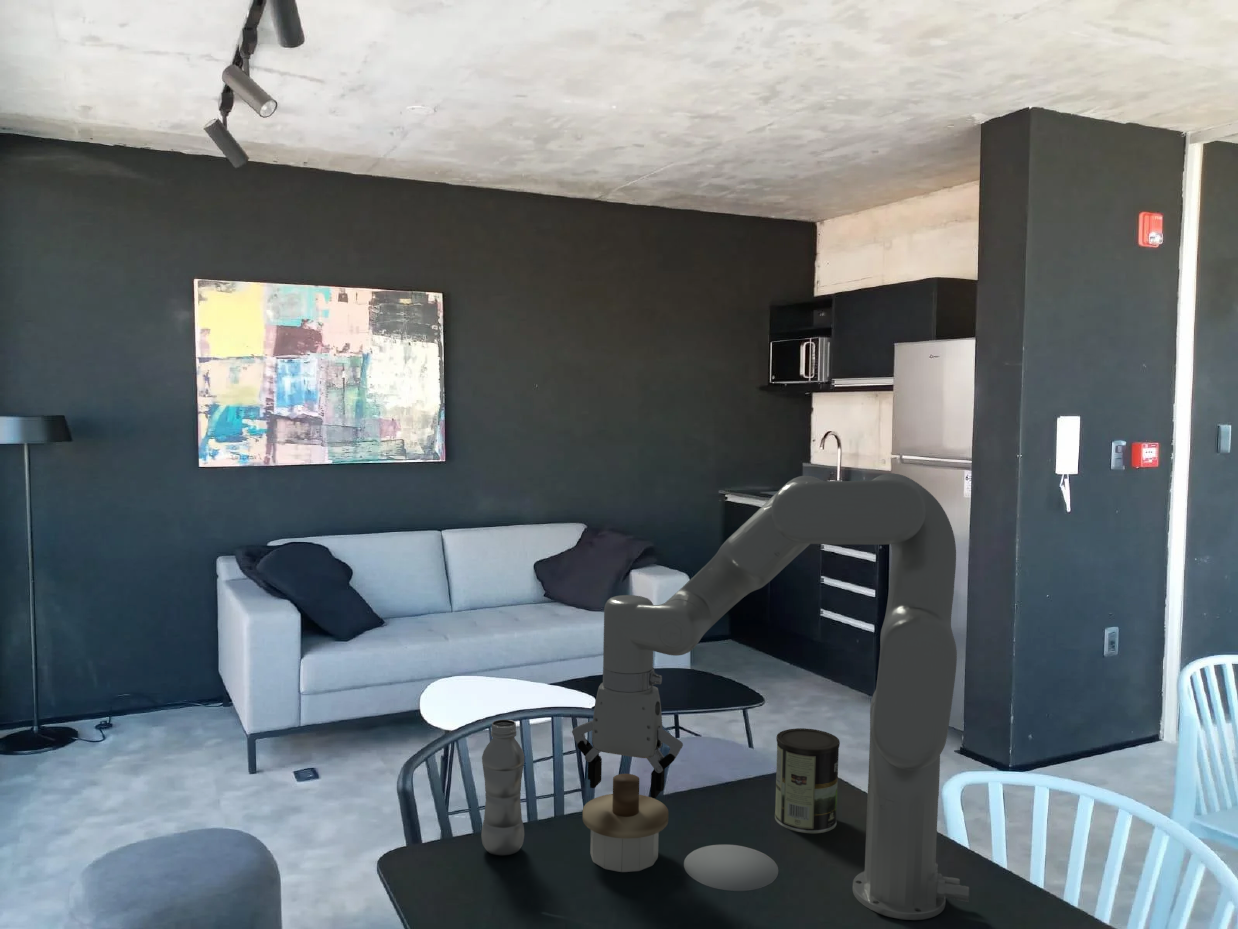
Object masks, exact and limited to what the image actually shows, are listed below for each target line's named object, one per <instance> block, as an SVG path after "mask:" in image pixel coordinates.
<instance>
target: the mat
mask: <svg viewBox="0 0 1238 929" xmlns="http://www.w3.org/2000/svg"><path fill="white" fill-rule="evenodd" d="M683 868H684V870H685V872H686V873H687V874H688V875H689V877H691V878H692V879H693V880H695V881H696V882H698V883H700V884H702V885H703V886H707V887H710V888H713V889H718V890H721V891H723V890H724V891H730V892H731V891H732V892H733V891H734V892H746V891H753V890H759V889H761V888H764V887H767V886H768V885H771V884H772V883H773V882H774V881H775V880H776V879H777V877H778V876H779V867H778V864H777V863H776V862H775V860H774V859H772V858H771V857H770V856H768V855H767V854H766V853H763V852H761V851H759V850H758V849H754V848H750V847H746V846H743V845H737V844H712V845H706V846H702V847H699V848H697V849H694V850H693V851H691V852H690V853H688V854H687V855H686V857H685V858H684V861H683Z"/></svg>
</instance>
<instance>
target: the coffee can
mask: <svg viewBox="0 0 1238 929" xmlns="http://www.w3.org/2000/svg"><path fill="white" fill-rule="evenodd" d="M840 744H841V741H840V739H839V738H838V737H837V736H836V735H834V734H832V733H831V732H827V731H824V730H819V729H814V728H804V727H802V728H799V727H798V728H789V729H784V730H782V731H779V732H778V733H777V734H776V776H775V809H774V810H775V812H774V819H775V821H776V822H777V823H778V824H779V825H780V826H781V827H783V828H786V829H788V830H790V831H792V832H798V833H802V834H803V833H804V834H821V833H826V832H830V831H831V830H833V829H835V828H836V826H837V824H838V823H837V808H838V807H837V805H838V778H839V755H840V754H839V752H840V751H839V750H840Z"/></svg>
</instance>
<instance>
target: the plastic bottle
mask: <svg viewBox="0 0 1238 929" xmlns="http://www.w3.org/2000/svg"><path fill="white" fill-rule="evenodd" d="M490 736H491V737H492V739H491V740H489V742H488V744H487V745H486V747H485V748H484V750H483V752H482V756H481V764H482V771H483V778H484V791H485V792H484V793H485V795H484V796H485V805H484V813H483V814H484V815H483V822H482V827H481V833H480V834H481V835H480V836H481V842H482V846H483V847H484V849H485V850H486V851H487V853H489V854H491V855H493V856H494V855H495V856H510V855H513V854H516V853H517V852H519V851H520V849H521V847H522V846H523V844H524V839H525V827H524V823H523V822H524V821H523V817H522V816H523V815H522V803H521V795H522V794H521V791H522V780H523V779H522V778H523V772H524V765H525V754H524V750H523V749H522V747H521V745H520V744H519V742H518V740H516V738H515V737H516V736H517V723H516V721H515V720H512V719H505V718H504V719H496V720H494V721H492V723H491V731H490Z"/></svg>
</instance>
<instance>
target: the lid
mask: <svg viewBox="0 0 1238 929" xmlns="http://www.w3.org/2000/svg"><path fill="white" fill-rule="evenodd" d="M582 822H583V824H584V826H585V827H586V828H587V829H589V830H590V831H591V830H592V831H594V832H596V833H598V834H601V835H604V836H608V837H614V838H641V837H646V836H650V835H653V834H656V833H658V832H659V833H660V832H662V831H663V830H664V829H665V828H666V827H667V826H668V824H669V809H668V807H667V806H666V804H664V803H663V802H661V801H660V800H658V799H656V798H652V797H651V796H647V795H644V794H643V795H642V794H640V778H639V776H638V775H636V774H632V773H619V774H615V775H614V776H613V778H612V793H608V794H605V795H600V796H598V797H595V798H593V799H591V800H588V801H587V802H586V803H585V804H584V806H583V808H582Z"/></svg>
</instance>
